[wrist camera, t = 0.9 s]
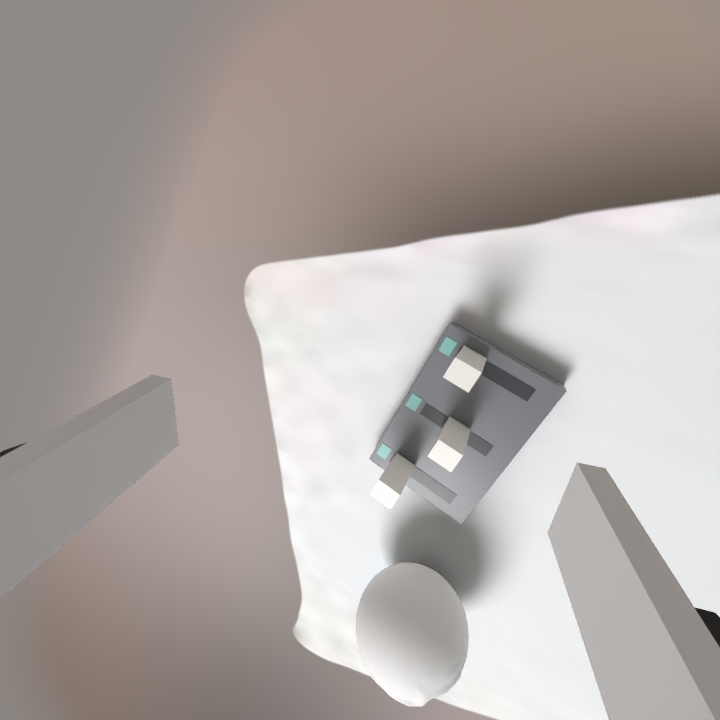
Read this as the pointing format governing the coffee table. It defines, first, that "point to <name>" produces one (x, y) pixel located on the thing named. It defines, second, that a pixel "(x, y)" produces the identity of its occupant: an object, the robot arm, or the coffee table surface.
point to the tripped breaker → (450, 444)
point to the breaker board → (467, 421)
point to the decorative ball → (412, 633)
